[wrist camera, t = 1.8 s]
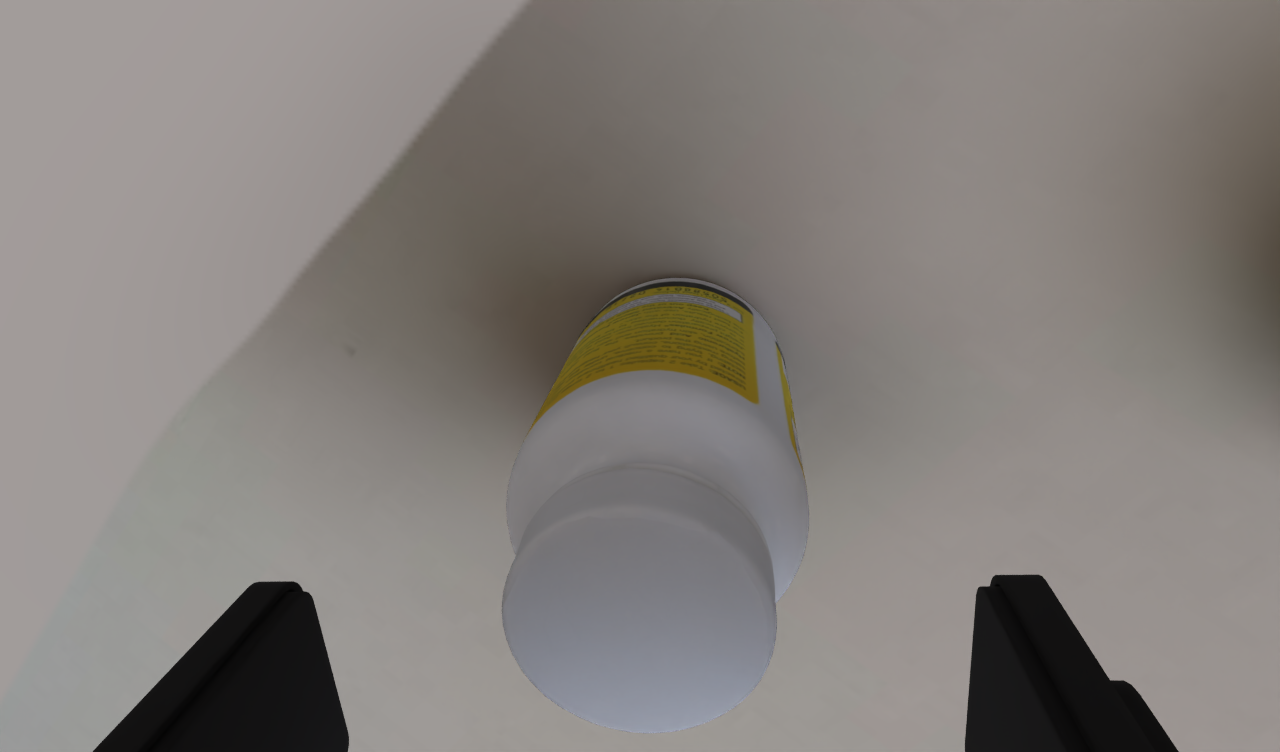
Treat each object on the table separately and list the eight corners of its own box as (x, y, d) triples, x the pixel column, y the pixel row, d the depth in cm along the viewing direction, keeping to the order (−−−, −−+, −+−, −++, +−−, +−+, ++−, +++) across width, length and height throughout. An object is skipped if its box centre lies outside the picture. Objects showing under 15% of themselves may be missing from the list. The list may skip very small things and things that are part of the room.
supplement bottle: (532, 352, 20) (375, 580, 11) (702, 229, 19) (679, 378, 10) (657, 504, 22) (605, 819, 13) (827, 401, 20) (909, 675, 11)
